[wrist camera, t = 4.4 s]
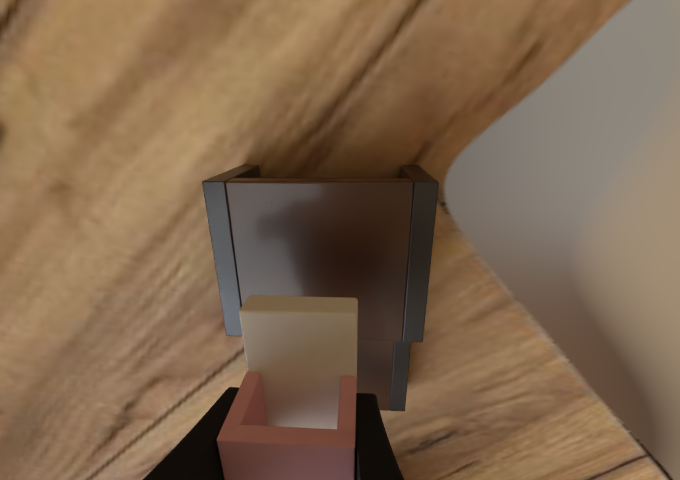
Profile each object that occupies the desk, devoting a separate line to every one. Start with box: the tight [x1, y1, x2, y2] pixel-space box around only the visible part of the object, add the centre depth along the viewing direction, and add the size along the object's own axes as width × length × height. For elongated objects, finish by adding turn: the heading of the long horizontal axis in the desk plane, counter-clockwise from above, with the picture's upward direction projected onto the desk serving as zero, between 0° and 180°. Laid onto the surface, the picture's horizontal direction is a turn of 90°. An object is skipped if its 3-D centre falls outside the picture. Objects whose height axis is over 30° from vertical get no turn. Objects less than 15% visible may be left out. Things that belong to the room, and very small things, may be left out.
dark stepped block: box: [202, 165, 439, 411], centre depth 19 cm, size 16×10×5 cm, turn 0°
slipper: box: [217, 295, 358, 480], centre depth 10 cm, size 6×4×3 cm, turn 0°
